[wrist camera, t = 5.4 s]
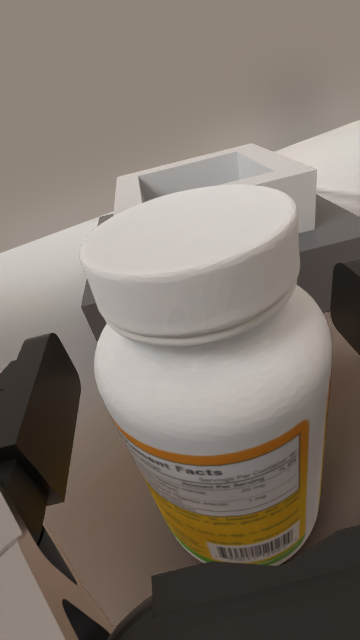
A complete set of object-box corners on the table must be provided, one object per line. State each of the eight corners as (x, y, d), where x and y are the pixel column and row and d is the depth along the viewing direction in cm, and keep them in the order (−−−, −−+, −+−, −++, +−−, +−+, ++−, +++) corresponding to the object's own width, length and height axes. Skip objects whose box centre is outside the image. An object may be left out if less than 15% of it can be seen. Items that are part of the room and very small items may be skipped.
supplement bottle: (219, 401, 15) (173, 172, 9) (346, 467, 11) (396, 170, 6) (131, 502, 12) (-14, 261, 6) (265, 630, 9) (211, 359, 3)
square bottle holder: (108, 365, 18) (55, 249, 14) (114, 260, 30) (86, 179, 26) (373, 299, 18) (395, 164, 14) (277, 219, 30) (274, 132, 26)
